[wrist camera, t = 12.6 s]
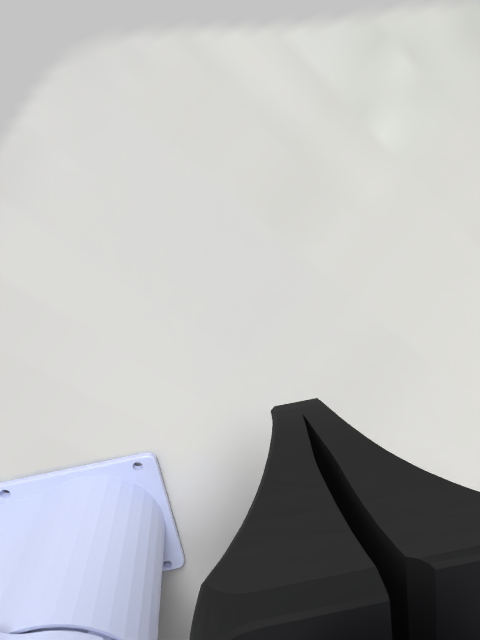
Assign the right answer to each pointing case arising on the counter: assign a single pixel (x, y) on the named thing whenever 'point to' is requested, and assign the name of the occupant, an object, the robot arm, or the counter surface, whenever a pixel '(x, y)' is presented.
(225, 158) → the counter surface
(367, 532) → the robot arm
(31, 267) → the counter surface
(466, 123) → the counter surface
